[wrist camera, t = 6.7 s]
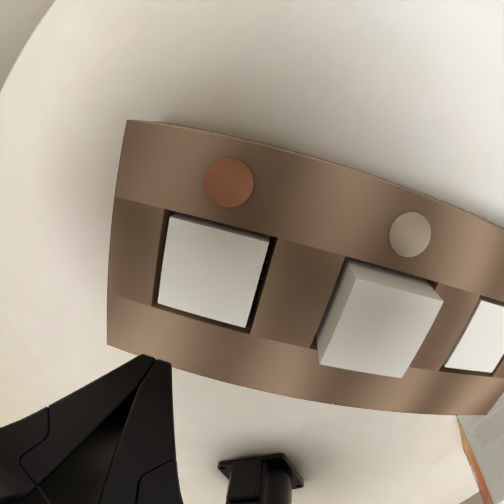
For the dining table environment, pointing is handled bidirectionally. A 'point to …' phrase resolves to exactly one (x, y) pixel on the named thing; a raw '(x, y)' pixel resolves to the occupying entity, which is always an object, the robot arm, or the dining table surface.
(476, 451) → the small box
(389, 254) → the key board
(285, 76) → the dining table surface
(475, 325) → the key
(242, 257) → the key
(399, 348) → the key mid
